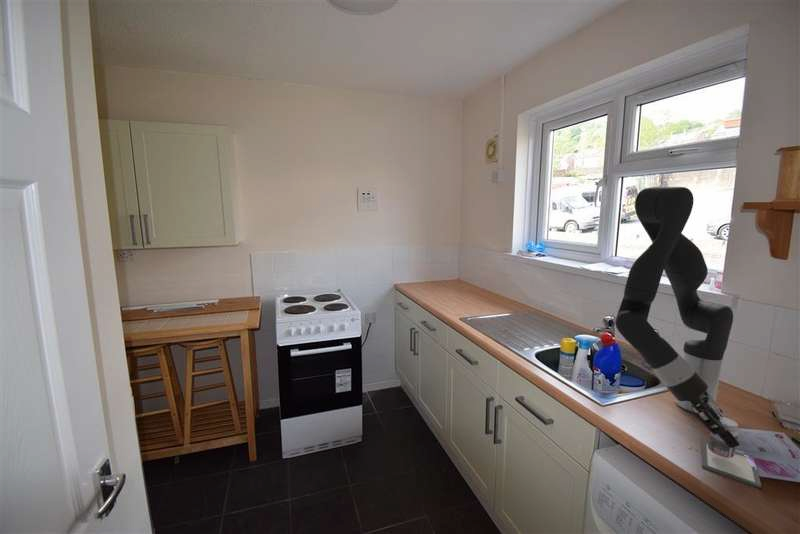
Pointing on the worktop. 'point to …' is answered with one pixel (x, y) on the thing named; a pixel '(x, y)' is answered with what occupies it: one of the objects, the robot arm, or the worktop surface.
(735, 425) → the pill bottle
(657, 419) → the worktop surface
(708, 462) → the tray
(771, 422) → the worktop surface
